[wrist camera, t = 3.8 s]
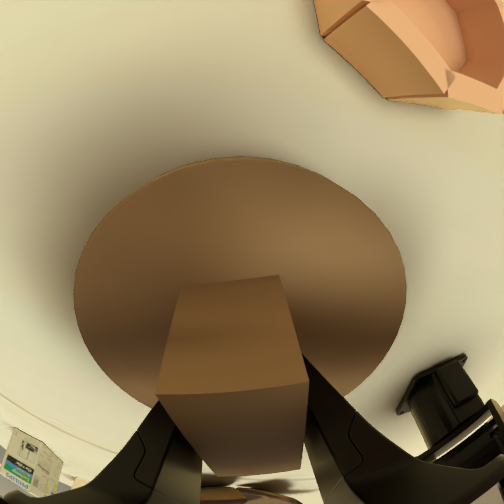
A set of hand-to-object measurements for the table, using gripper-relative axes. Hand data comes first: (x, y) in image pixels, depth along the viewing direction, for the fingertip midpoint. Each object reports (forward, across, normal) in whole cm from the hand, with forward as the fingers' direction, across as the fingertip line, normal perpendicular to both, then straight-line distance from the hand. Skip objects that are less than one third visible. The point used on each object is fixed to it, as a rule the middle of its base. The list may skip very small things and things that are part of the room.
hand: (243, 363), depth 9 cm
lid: (+2, 0, 0) cm, 2 cm away
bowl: (+4, -9, -13) cm, 16 cm away
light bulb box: (+4, +40, +30) cm, 50 cm away
